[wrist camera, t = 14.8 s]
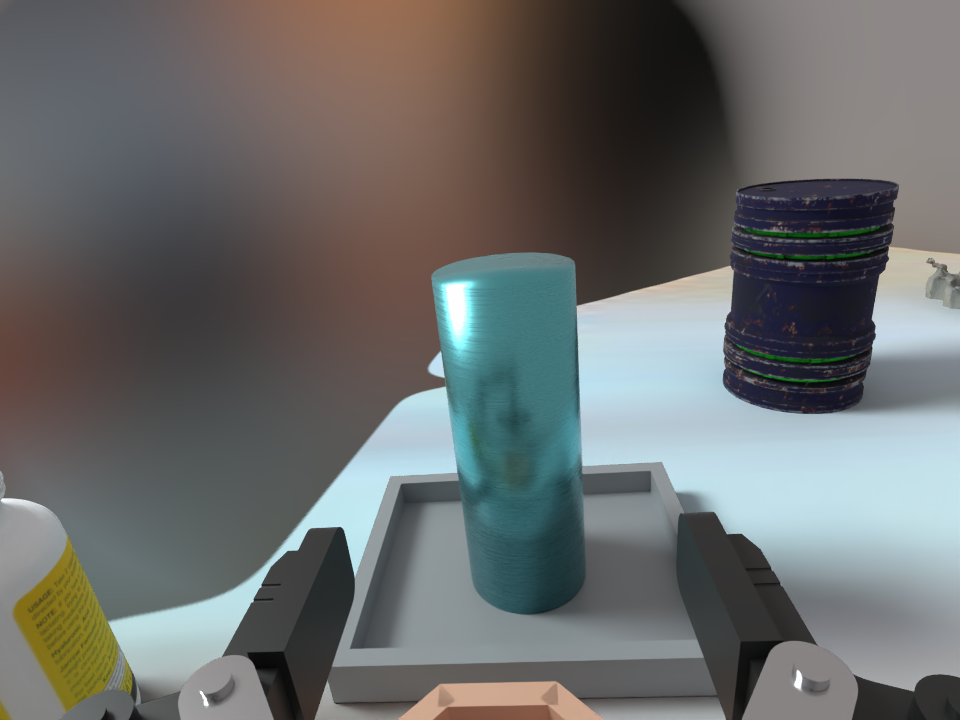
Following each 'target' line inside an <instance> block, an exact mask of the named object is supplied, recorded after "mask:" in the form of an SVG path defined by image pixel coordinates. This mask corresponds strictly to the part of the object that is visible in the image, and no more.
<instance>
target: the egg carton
mask: <svg viewBox="0 0 960 720" xmlns="http://www.w3.org/2000/svg"><path fill="white" fill-rule="evenodd" d="M926 263H930V264H932V267H937V271H936V272H935V274H933V275H932V276H931V277H929V278H928V281H927V283H926V295H925V296H926V297H927V298H930V299H941V300H943V306H946V307H948V308H954V309H960V273H959V274H950V273H948V271H947V266H946V265H944V264H939V263H935V261H934V260H933V258H931V259H930V258H929V259H928V260H927V262H926Z"/></svg>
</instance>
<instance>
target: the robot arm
mask: <svg viewBox="0 0 960 720" xmlns="http://www.w3.org/2000/svg"><path fill="white" fill-rule="evenodd" d="M676 574H677V581H678V586H679V590H680V594H681V597H682V599H683V602H684V605H685V607H686V610H687V613H688V616H689V618H690V621H691V624H692V627H693V629H694V632H695V635H696V638H697V640H698V643H699V646H700V649H701V651H702V654H703V657H704V659H705V662H706V665H707V668H708V670H709V673H710V676H711V679H712V681H713V684H714V687H715V690H716V692H717V695H718V698H719V701H720V703H721V706H722V709H723V711H724V714H725V717H726V720H960V678H959V677H955V676H950V675H941V674H940V675H930V676H926V677H924V678H922V679H921V680H920V681H919V682H918V683H917V685H916V687H915V690H914V692H913V691H909V690H905V689H901V688H897V687H892V686H888V685H884V684H880V683H876V682H872V681H869V680H866V679H863V678H860V677H858V676H856V675H854V674H853V673H852V672H851V670H850V669H849V668H848V666H847V665H846V664H845V663H844V662H843V661H842V660H841V659H839V658H838V657H837V656H835V655H834V654H833V653H831V652H829V651H828V650H826V649H824V648H822V647H820V646H818V645H817V644H816V642H815V641H814V639H813V637H812V636H811V634H810V632H809V630H808V629H807V627H806V625H805V624H804V622H803V620H802V619H801V617H800V615H799V614H798V612H797V610H796V609H795V607H794V605H793V604H792V602H791V600H790V598H789V597H788V595H787V593H786V592H785V590H784V588H783V587H781V585H780V582H779V580H778V578H777V577H776V575H775V573H774V572H773V571H772V570H771V566H770V565H769V563H768V561H767V560H766V558H765V556H764V555H763V553H762V551H761V550H760V549H759V548H758V547H757V546H756V545H754V544H753V543H752V542H751V541H750V540H748V539H747V538H746V537H745V536H743V535H742V534H726V532H725V530H724V528H723V526H722V525H721V523H720V521H719V519H718V517H717V515H716V514H715V513H714V512H699V513H681V514H680V515H679V518H678V535H677V555H676ZM354 594H355V578H354V572H353V568H352V563H351V559H350V554H349V550H348V546H347V541H346V537H345V533H344V530H343V529H342V528H341V527H332V528H311V529H309V531H308V532H307V534H306V536H305V538H304V540H303V542H302V544H301V546H300V548H299V550H298V551H287V552H286V553H285V554H284V555H283V556H282V557H281V558H280V559H279V560H278V561H277V562H276V563H275V564H274V565H273V566H271V568H270V570H269V572H268V574H267V575H266V577H265V579H264V581H263V583H262V587H261V588H259V590H258V592H257V594H256V596H255V597H254V602H253V603H251V605H250V607H249V608H248V610H247V612H246V614H245V616H244V618H243V619H242V621H241V623H240V625H239V627H238V629H237V630H236V632H235V634H234V636H233V638H232V640H231V641H230V643H229V645H228V647H227V649H226V651H225V652H224V654H223V656H222V657H221V658H218V659H215V660H213V661H211V662H209V663H208V664H206V665H204V666H203V667H201V668H200V669H199V670H198V671H196V672H195V673H194V674H193V675H192V676H191V677H190V678H189V679H188V681H187V682H186V684H185V685H184V687H183V688H182V690H181V691H180V692H177V693H174V694H171V695H168V696H165V697H161V698H158V699H155V700H152V701H148V702H145V703H142V704H139V705H135V703H134V701H133V699H132V697H131V695H130V694H129V693H128V692H126V691H124V690H119V689H112V690H106V691H103V692H99V693H97V694H94V695H92V696H90V697H88V698H86V699H84V700H83V701H81V702H80V703H78V704H77V705H75V706H74V707H73V708H71V709H70V710H69V711H68V712H67V713H66V714H64V715H63V717H62V718H61V719H60V720H314V719H315V716H316V713H317V710H318V707H319V704H320V701H321V698H322V695H323V692H324V689H325V685H326V682H327V679H328V676H329V673H330V670H331V667H332V664H333V661H334V658H335V655H336V652H337V649H338V646H339V643H340V640H341V637H342V634H343V631H344V628H345V625H346V622H347V619H348V616H349V613H350V610H351V607H352V604H353V600H354Z"/></svg>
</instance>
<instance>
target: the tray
mask: <svg viewBox="0 0 960 720" xmlns="http://www.w3.org/2000/svg"><path fill="white" fill-rule="evenodd" d="M582 473H583V501H584V528H585V556H586V578H585V581H584V584H583V586H582V588H581V590H580V591H579V592H578V594H577V595H576V596H575V597H574V598H573V599H572V600H570V601H569V602H568V603H566V604H565V605H563V606H561V607H559V608H557V609H554V610H551V611H548V612H544V613H539V614H515V613H510V612H506V611H503V610H500V609H498V608H496V607H494V606H492V605H490V604H489V603H487V602H486V601H485V600H484V599H483V598H482V597H481V596H480V595H479V594H478V593H477V591H476V589H475V588H474V585H473V582H472V577H471V570H470V562H469V555H468V547H467V540H466V532H465V525H464V517H463V510H462V502H461V495H460V487H459V480H458V473H448V474H429V475H411V476H392V477H390V479H389V482H388V485H387V488H386V491H385V493H384V496H383V499H382V502H381V505H380V508H379V511H378V514H377V516H376V519H375V522H374V525H373V528H372V531H371V534H370V537H369V540H368V542H367V545H366V548H365V551H364V554H363V557H362V560H361V563H360V565H359V568H358V571H357V574H356V577H355V594H354V600H353V604H352V607H351V610H350V613H349V616H348V619H347V622H346V625H345V628H344V631H343V634H342V637H341V640H340V643H339V646H338V649H337V652H336V655H335V658H334V661H333V664H332V667H331V670H330V673H329V676H328V682H329V686H330V690H331V693H332V697H333V701H334V703H350V702H402V701H421V700H422V699H423V698H424V697H425V696H426V695H428V694H429V693H430V692H431V691H432V690H434V689H435V688H436V687H437V686H438V685H439V684H458V683H504V682H550V681H557V682H558V683H559V684H561V685H562V686H563V687H564V688H565V689H567V690H568V691H569V692H570V693H572V694H573V695H574V696H575V697H576V698H611V697H663V696H715V695H717V692H716V690H715V687H714V684H713V681H712V679H711V676H710V673H709V670H708V668H707V665H706V662H705V659H704V657H703V654H702V651H701V649H700V646H699V643H698V640H697V638H696V635H695V632H694V629H693V627H692V624H691V621H690V618H689V616H688V613H687V610H686V607H685V605H684V602H683V599H682V597H681V594H680V590H679V586H678V581H677V574H676V555H677V535H678V518H679V515H680V514H681V513H684V510H683V508H682V506H681V504H680V501H679V499H678V497H677V495H676V493H675V490H674V488H673V486H672V484H671V482H670V479H669V477H668V475H667V473H666V470H665V468H664V466H663V464H662V462H655V463H636V464H618V465H599V466H582Z"/></svg>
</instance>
